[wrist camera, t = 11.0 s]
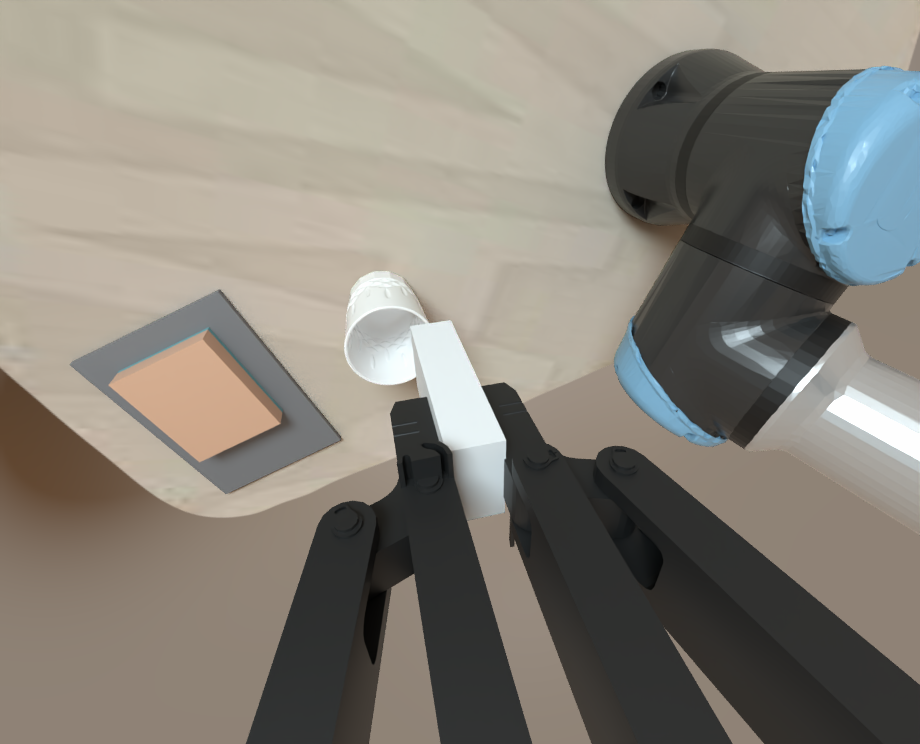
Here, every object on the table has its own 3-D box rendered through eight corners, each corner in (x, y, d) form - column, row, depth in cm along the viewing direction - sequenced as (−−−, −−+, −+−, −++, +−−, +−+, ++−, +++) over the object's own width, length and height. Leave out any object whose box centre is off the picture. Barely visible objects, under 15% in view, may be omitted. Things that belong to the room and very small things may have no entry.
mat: (340, 436, 55) (340, 439, 54) (227, 490, 55) (225, 494, 55) (219, 289, 42) (218, 292, 41) (72, 361, 42) (69, 364, 42)
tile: (280, 423, 48) (202, 339, 41) (199, 462, 48) (108, 385, 41) (282, 409, 50) (209, 327, 43) (205, 446, 50) (119, 370, 43)
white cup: (433, 304, 48) (453, 350, 40) (377, 347, 49) (385, 400, 41) (386, 248, 43) (398, 287, 35) (326, 296, 44) (323, 345, 36)
